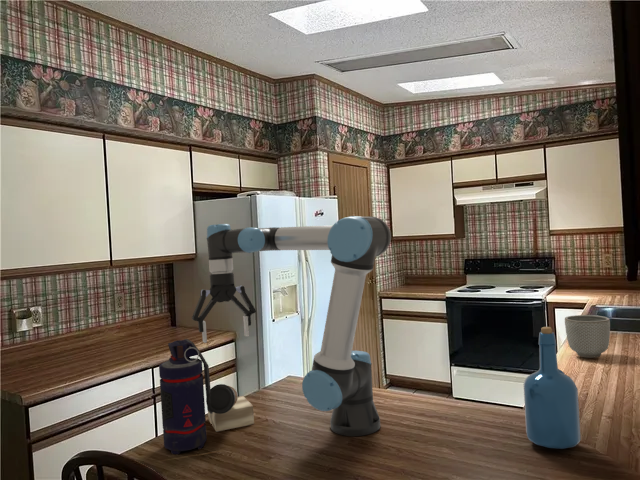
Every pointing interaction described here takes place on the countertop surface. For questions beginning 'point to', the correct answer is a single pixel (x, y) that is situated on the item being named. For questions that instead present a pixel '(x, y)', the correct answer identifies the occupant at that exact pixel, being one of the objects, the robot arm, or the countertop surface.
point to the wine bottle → (551, 400)
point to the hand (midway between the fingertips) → (226, 339)
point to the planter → (588, 334)
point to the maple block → (233, 416)
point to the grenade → (184, 397)
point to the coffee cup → (221, 398)
